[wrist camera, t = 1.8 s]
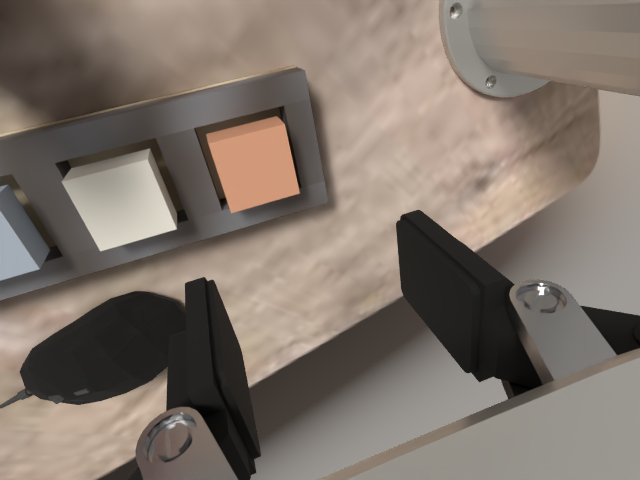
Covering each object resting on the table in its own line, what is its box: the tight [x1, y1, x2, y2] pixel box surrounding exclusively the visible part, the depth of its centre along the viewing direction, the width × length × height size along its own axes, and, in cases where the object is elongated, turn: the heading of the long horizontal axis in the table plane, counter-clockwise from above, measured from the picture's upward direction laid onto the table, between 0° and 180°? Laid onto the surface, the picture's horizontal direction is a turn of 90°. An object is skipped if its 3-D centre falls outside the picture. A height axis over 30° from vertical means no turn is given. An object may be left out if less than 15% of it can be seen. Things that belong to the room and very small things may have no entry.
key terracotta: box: [206, 116, 300, 213], centre depth 22 cm, size 4×4×2 cm
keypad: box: [0, 66, 328, 300], centre depth 22 cm, size 29×8×3 cm, turn 100°
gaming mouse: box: [0, 291, 186, 408], centre depth 27 cm, size 6×15×4 cm, turn 115°
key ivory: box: [62, 148, 177, 251], centre depth 21 cm, size 4×4×2 cm
